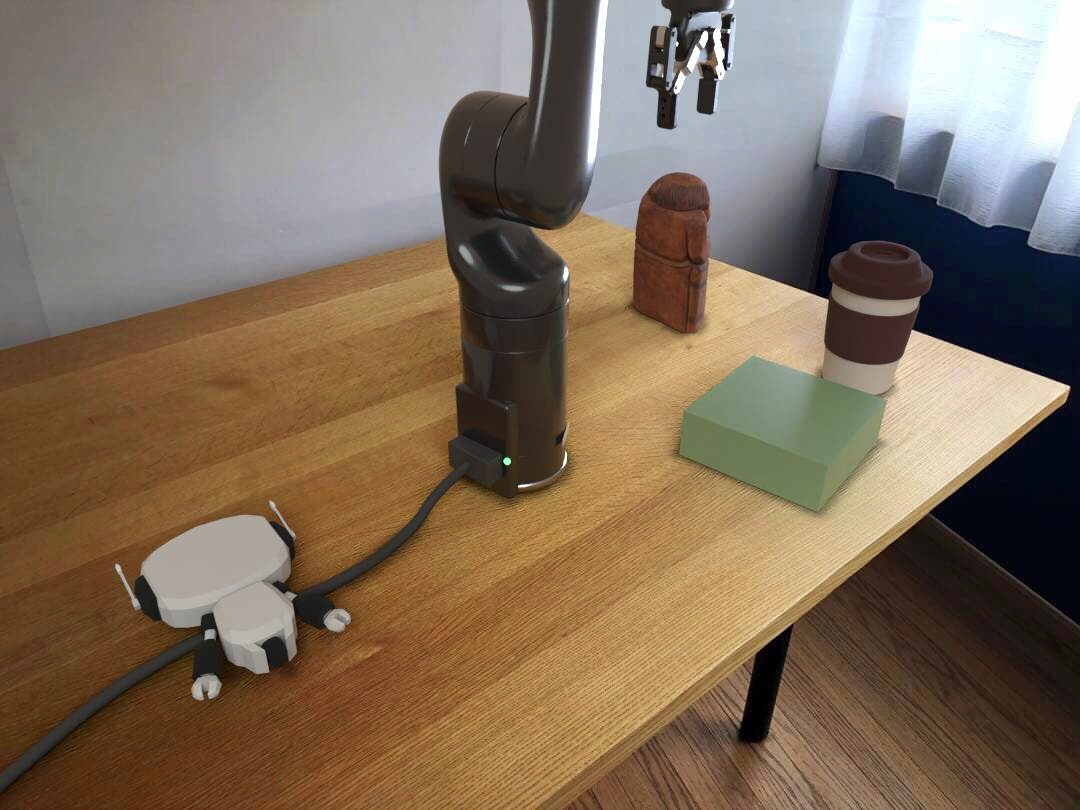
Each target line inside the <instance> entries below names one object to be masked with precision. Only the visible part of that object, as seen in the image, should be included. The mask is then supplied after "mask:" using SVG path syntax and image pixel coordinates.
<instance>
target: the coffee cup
mask: <svg viewBox="0 0 1080 810" xmlns="http://www.w3.org/2000/svg"><path fill="white" fill-rule="evenodd" d="M827 275H828V279H829V280H830V281H831V282H832V288H831V289H830V291H829V293H828V303H827V310H826V320H825V326H824V335H823V343H824V352H823V353H824V354H823V362H822V369H821V370H822V372H821V373H822V378H823V379H826V380H829V381H832V382H835V383H838V384H841V385H844V386H847V387H851V388H854V389H857V390H860V391H863V392H866V393H869V394H872V395H875V396H878V395H880V394H883V393H885V392H887V391H888V390H889V389H890V387H891V386H892V384H893V382H894V381H893V380H894V377H895V374H896V372H897V369H898V366H899V364H900V360H901V359H902V358H903V356H904V354H905V353H906V350H907V346H908V342H909V340H910V337H911V334H912V331H913V329H914V326H915V323H916V319H917V317H918V314H919V310H920V300H921V297H922V296H924V295H925V294H927V293H928V292H929V291H930V290H931V285H932V281H933V278H934V273H933V270H932V269H931V268H930V267H929V266H928V265H927V264H925V263H924V262H923V261H922V260H921V256H920V254H919V253H918V252H917V251H915V250H914V249H913V248H912V247H911V248H910V247H909V246H906V245H904V244H899V243H896V242H891V241H884V240H866V241H860V242H856V243H853V244H852V245H850V247H849V248H848V250H846V251H843V252H839V253H837V254H835V255H834V256H833V257H832V258H831V259H830V262H829V267H828V274H827Z"/></svg>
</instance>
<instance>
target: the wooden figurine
mask: <svg viewBox="0 0 1080 810" xmlns="http://www.w3.org/2000/svg"><path fill="white" fill-rule="evenodd" d="M711 202H712V201H711V198H710V192H709V188H708V185H707V183H706V182H705V181H704V180H703V179H702V178H701V177H699V176H697V175H696V174H692V173H689V172H683V171H682V172H679V171H676V172H675V171H673V172H670V173H666V174H664V175H662V176H660V177H659V178H658V179H656V180H655V181H654V182H653V183H652V184H651V185H650V186H649V188H648V190H647V191H646V192H645V193H644V194H643V196H642V197H641V199H640V203H639V206H638V211H637V219H636V224H635V231H634V236H635V239H634V253H633V272H632V281H633V282H632V283H633V284H632V305H633V307H634V308H635V309H636V310H637V311H638V312H639V313H641V314H643V315H645V316H647V317H649V318H652V319H654V320H656V321H659V322H661V323H662V324H664V325H666V326H668V327H671V328H672V329H674V330H676V331H679V332H680V333H687V334H692V333H695V332H697V331H699V329H700V328H701V327H702V326H703V323H704V318H705V310H706V300H707V290H708V289H707V286H708V277H709V276H708V275H709V268H710V267H709V265H710V260H709V259H710V256H711V249H712V244H711V243H712V242H711V237H710V236H709V235H708V228H709V224H708V223H709V221H710V219H711V208H712V203H711Z"/></svg>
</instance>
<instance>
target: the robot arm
mask: <svg viewBox="0 0 1080 810" xmlns="http://www.w3.org/2000/svg"><path fill="white" fill-rule="evenodd" d="M526 2H527V7H528V11H529V17H530V19H529V20H530V24H531V25H530V26H531V40H532V41H531V43H532V44H531V45H532V46H531V68H530V69H531V70H530V81H529V88H528V96H524V95H520V94H519V95H518V94H512V93H508V92H501V91H496V90H495V91H494V90H476V91H473V92H470V93H468V94H466V95H464V96H462V97H461V98H460V99H459V100H458V101H457V102H456V103H455V104H454V105H453V107H452V108H451V109H450V111H449V113H448V115H447V117H446V120H445V122H444V125H443V129H442V132H441V136H440V142H439V150H438V181H439V192H440V193H439V194H440V202H441V203H440V204H441V210H442V211H441V212H442V221H443V227H444V237H445V246H446V247H445V248H446V256H447V260H448V265H449V267H450V270H451V273H452V275H453V276H454V278H455V280H456V283H457V287H458V303H459V304H458V305H459V322H460V346H461V367H462V381H461V382H459V383H458V384H456V385H455V390H454V391H455V406H456V424H457V425H456V426H457V436H455V437H454V438H453V439H451V440H449V441H448V442H447V453H448V465H449V467H451V468H453V470H452V471H451V472H450V473H449V474H448V475H447V476H445V477H444V479H443V480H442V481H441V482H439V484H438V485H436V487H434V488H433V490H432V491H431V492H430V493H429V494H428V496H427V497H426V498H425V500H424V501H423V502H422V504H421V506H420V507H419V509H418V511H417V512H416V513H415V515H414V516H413V517H412V519H411V520H410V521H409V522H408V523H407V524H406V525H405V526H404V527H403V528H402V529H401V530H400V531H399V532H398V533H397V534H396V535H394V537H392V538H391V539H390V540H389V541H388V542H387V543H386V544H384V545H383V546H382V547H380V548H379V549H377V550H376V551H375V552H374V553H372V554H371V555H369V556H368V557H366V558H364V559H363V560H361V561H359V562H358V563H356V564H354V565H352V566H351V567H349V568H347V569H345V570H343V571H341V572H340V573H338V574H336V575H335V576H332V577H331V578H328V579H327V580H324V581H322V582H320V583H317V584H315V585H312V586H310V587H307V588H304V589H302V590H299V591H297V592H294V593H293V592H292V593H293V594H295V595H301V594H307V593H316V594H318V595H320V596H324V595H326V594H328V593H330V592H332V591H335V590H336V589H338V588H340V587H342V586H344V585H346V584H348V583H349V582H351V581H353V580H355V579H356V578H358V577H360V576H361V575H363V574H365V573H366V572H368V571H370V570H372V569H373V568H374V567H376V566H377V565H379V564H381V563H382V562H383V561H385V560H386V559H387V558H388V557H390V556H391V555H392V554H393V553H395V552H396V551H397V550H399V548H401V547H402V545H404V544H405V543H406V542H407V541H408V540H409V539H410V538H412V536H413V535H414V534H415V533H416V532H417V531H418V530H419V528H421V526H422V525H423V524H424V522H425V521H426V519H427V518H428V516H429V515H430V513H431V512H432V510H433V509H434V507H435V506H436V504H437V503H438V502H439V501H440V499H442V497H443V496H444V495H445V494H446V493H447V492H448V491H449V490H450V489H451V488H452V487H453V486H454V485H455V484H456V483H457V482H459V480H461V479H462V478H463V477H466V478H467V479H469V480H471V481H473V482H474V483H477V484H479V485H480V486H482V487H484V488H487V489H489V490H491V491H493V492H495V493H497V494H498V495H500V496H502V497H505V498H506V499H512V498H513V497H514V496H516V495H518V494H521V493H523V494H524V493H532V492H535V491H538V490H542V489H545V488H548V487H549V486H551V485H552V484H554V483H556V482H557V481H558V480H560V478H561V477H562V476H563V475H564V473H565V471H566V470H567V469H566V468H567V457H568V454H567V449H566V448H567V437H568V434H569V430H570V421H568V422H567V413H568V412H567V410H568V408H567V407H568V373H569V371H568V368H569V366H568V365H569V364H568V363H569V330H570V329H569V328H570V288H571V287H570V286H571V277H570V276H571V275H570V270H569V266H568V264H567V262H566V261H565V259H564V258H563V257H562V256H561V254H559V253H558V252H557V251H556V250H554V249H553V248H552V247H550V246H549V245H548V244H547V243H546V242H545V241H544V240H543V239H542V238H540V237H539V235H538V234H537V233H536V232H535V230H534V229H538V230H543V231H557V230H558V231H559V230H561V229H564V228H565V227H567V226H568V225H570V224H571V223H573V222H574V220H575V219H576V218H577V216H578V215H579V213H580V212H581V210H582V208H583V207H584V204H585V202H586V200H587V197H588V195H589V191H590V189H591V185H592V182H593V177H594V172H595V166H596V162H597V161H596V160H597V159H596V158H597V152H598V144H599V132H600V121H601V120H600V119H601V105H602V104H601V103H602V89H603V72H604V71H603V70H604V60H605V59H604V58H605V57H604V56H605V45H606V44H605V43H606V32H607V23H608V22H607V21H608V11H609V3H610V0H526ZM660 4H661V6H662V8H664V9H666V10H669V12H670V18H669V22H668V25H652V27H651V29H650V33H649V44H648V45H649V46H648V53H647V55H648V57H647V66H646V77H645V86H646V88H649V89H654V90H655V91H657V94H658V95H657V110H656V127H658V128H659V129H662V130H663V129H664V130H669V131H671V130H674V129H677V127H678V123H679V112H680V99H681V98H680V97H681V93H679V92H680V90H681V88H682V86H683V84H684V80H685V78H686V76H689V75H690V74H691V73H692V72H693V69H694V67H695V66H697V70H698V73H699V76H700V77H701V78H699V79H698V87H697V98H696V112H697V113H698V114H703V115H706V116H707V115H708V116H710V115H714V114H715V113H716V112H717V109H718V108H717V107H718V99H719V88H720V81H721V80H723V78H724V75H725V72H726V71H727V72H730V71H731V70H732V68H733V63H734V61H733V60H734V49H735V39H736V37H735V36H736V25H737V14H735V13H727V12H725V11H729V10H730V9H732V8H733V6H734V4H735V0H661V1H660ZM723 50H724V51H723ZM658 65H659V66H660V70H659V72H658ZM657 73H658V75H657ZM674 74H675V75H674ZM673 75H674V76H673ZM533 228H534V229H533ZM216 639H219V636H218V637H216ZM204 640H205V638H203V637H202V635H201V634H200V632H198V633H196V634H194V635H192V636H190V637H188V638H187V639H184V640H182V641H181V642H179V643H177V644H175V645H173V646H171V647H169V648H168V649H166V650H164V651H162V652H161V653H159V654H157V655H155V656H154V657H152V658H150V659H149V660H147V661H145V662H144V663H142V664H140V665H138V666H137V667H136V668H134V669H133V670H131V671H130V672H128V673H126V674H125V675H123V676H121V677H120V678H118V679H117V680H116V681H114V682H112V683H111V684H110V685H109V686H107V687H106V688H104V689H103V690H101V691H100V692H98V693H97V694H96V695H94V696H92V697H91V698H90V699H89V700H87V701H85V703H83V704H82V705H80V706H79V707H78V708H77V709H75V710H74V711H73V712H72V713H70V714H69V715H68V716H67V717H66V718H64V719H63V720H62V721H61V722H59V723H58V724H57V725H56V726H54V727H53V728H52V729H51V730H49V731H48V732H47V733H46V734H45V735H44V736H43V737H41V738H40V739H39V740H38V741H37V742H35V743H34V744H33V745H31V747H30V748H28V749H27V750H26V751H25V752H24V753H23V754H21V755H20V756H19V757H18V758H16V759H15V760H14V761H13V762H12V763H11V764H9V765H8V766H7V767H6V768H5V769H4V770H2V771H1V772H0V794H2V793H3V791H5V790H6V789H7V788H8V787H9V786H11V785H12V784H13V783H14V782H15V781H16V780H17V779H19V778H20V777H21V776H22V775H23V774H25V772H27V771H28V770H29V769H30V768H31V767H32V766H34V765H35V764H36V763H37V762H38V761H40V760H41V759H43V757H44V756H46V754H48V753H49V752H50V751H51V750H52V749H53V748H55V747H56V746H57V745H58V744H59V743H60V742H61V741H63V740H64V739H65V738H66V737H68V736H69V735H70V734H71V733H72V732H73V731H75V730H76V729H77V728H79V727H80V726H81V725H82V724H83V723H85V722H86V721H87V720H89V718H91V717H92V716H93V715H94V714H96V713H97V712H98V711H100V710H101V709H102V708H104V707H105V706H107V705H108V704H109V703H111V702H112V701H113V700H115V699H116V698H117V697H119V696H121V695H122V694H124V693H125V692H126V691H128V690H130V689H131V688H132V687H134V686H136V685H137V684H138V683H140V682H142V681H143V680H144V679H146V678H147V677H149V676H151V675H153V674H154V673H156V672H157V671H159V670H161V669H163V668H164V667H166V666H167V665H170V664H171V663H173V662H174V661H176V660H177V659H180V658H181V657H183V656H185V655H187V654H189V653H191V652H192V651H195V650H196V649H197V647H198V646H199V645H200V644H201V643H202V642H203V641H204Z"/></svg>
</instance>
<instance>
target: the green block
mask: <svg viewBox="0 0 1080 810" xmlns="http://www.w3.org/2000/svg"><path fill="white" fill-rule="evenodd" d="M887 403H888V399H887V398H885V397H881V396H878V395H872V394H869V393H866V392H863V391H860V390H857V389H854V388H851V387H847V386H844V385H841V384H838V383H835V382H832V381H829V380H826V379H824V378H823V377H820V376H817V375H814V374H811V373H807V372H804V371H802V370H798V369H795V368H792V367H790V366H787V365H784V364H780V363H777V362H774V361H772V360H768V359H765V358H762V357H759V356H756V355H752V356H750V357H749V358H748V359H747V360H746V361H744V362H743V363H742V364H741V365H739V366H738V367H737V368H735V369H734V370H733V371H732V372H731V373H729V374H727V376H726V377H724V378H723V379H722V380H721V381H719V382H718V383H717V384H715V385H714V386H712V388H710V389H709V390H708V391H707V392H705V393H704V394H702V395H701V397H699V398H698V399H697V400H695V401H694V402H693V403H692V404H690V405H689V406H688V407H686V408H684V409H683V414H682V423H681V432H680V442H679V451H678V455H679V456H681V457H684V458H686V459H688V460H691V461H693V462H695V463H697V464H701V465H703V466H705V467H707V468H710V469H712V470H715V471H717V472H720V473H722V474H724V475H727V476H729V477H732V478H734V479H736V480H739V481H741V482H743V483H746V484H748V485H750V486H753V487H755V488H758V489H761V490H762V491H765V492H768V493H769V494H772V495H775V496H777V497H779V498H782V499H785V500H786V501H789V502H791V503H794V504H797V505H799V506H801V507H803V508H806V509H809V510H811V511H813V512H815V513H819V512H820V511H821V509H822V508H823V507H824V506H825V505H826V503H827V502H828V501H829V500H830V498H832V496H833V495H834V494H835V493H836V492H837V490H838V489H839V488H840V487H841V486H842V484H843V483H844V482H845V481H846V480H847V479H848V477H849V476H850V475H851V474H852V473H853V472H854V470H855V469H856V468H857V467H858V466H859V465H860V463H861V462H862V461H863V459H864V458H865V457H866V456H867V455H868V454H869V452H870V451H872V448H873V447H875V445H876V444H877V442H878V439H879V434H880V431H881V427H882V422H883V419H884V415H885V411H886V408H887Z"/></svg>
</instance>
